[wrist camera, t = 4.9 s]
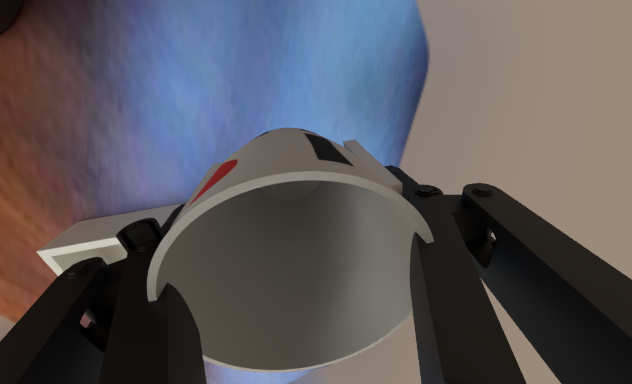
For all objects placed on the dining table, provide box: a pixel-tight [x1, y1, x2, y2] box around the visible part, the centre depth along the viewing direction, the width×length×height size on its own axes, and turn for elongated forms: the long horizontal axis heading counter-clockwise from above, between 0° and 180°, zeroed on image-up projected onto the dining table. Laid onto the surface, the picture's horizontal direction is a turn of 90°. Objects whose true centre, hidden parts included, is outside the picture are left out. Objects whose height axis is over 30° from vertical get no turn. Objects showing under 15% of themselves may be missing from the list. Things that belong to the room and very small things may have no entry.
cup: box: [147, 128, 434, 373], centre depth 11 cm, size 8×8×10 cm
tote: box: [36, 202, 187, 276], centre depth 29 cm, size 22×20×5 cm
